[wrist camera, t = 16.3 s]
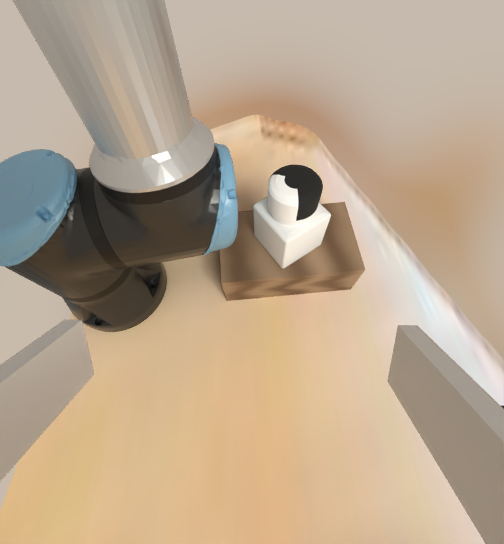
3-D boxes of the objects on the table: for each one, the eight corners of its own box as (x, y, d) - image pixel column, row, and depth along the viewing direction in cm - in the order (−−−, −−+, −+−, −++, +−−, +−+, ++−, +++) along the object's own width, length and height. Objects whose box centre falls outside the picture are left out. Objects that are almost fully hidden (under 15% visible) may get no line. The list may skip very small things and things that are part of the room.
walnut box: (227, 300, 44) (221, 283, 38) (224, 238, 50) (218, 213, 43) (350, 289, 44) (365, 269, 38) (334, 228, 50) (344, 201, 43)
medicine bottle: (291, 213, 43) (300, 147, 32) (321, 244, 40) (343, 185, 29) (253, 235, 41) (250, 175, 30) (282, 270, 38) (290, 217, 28)
